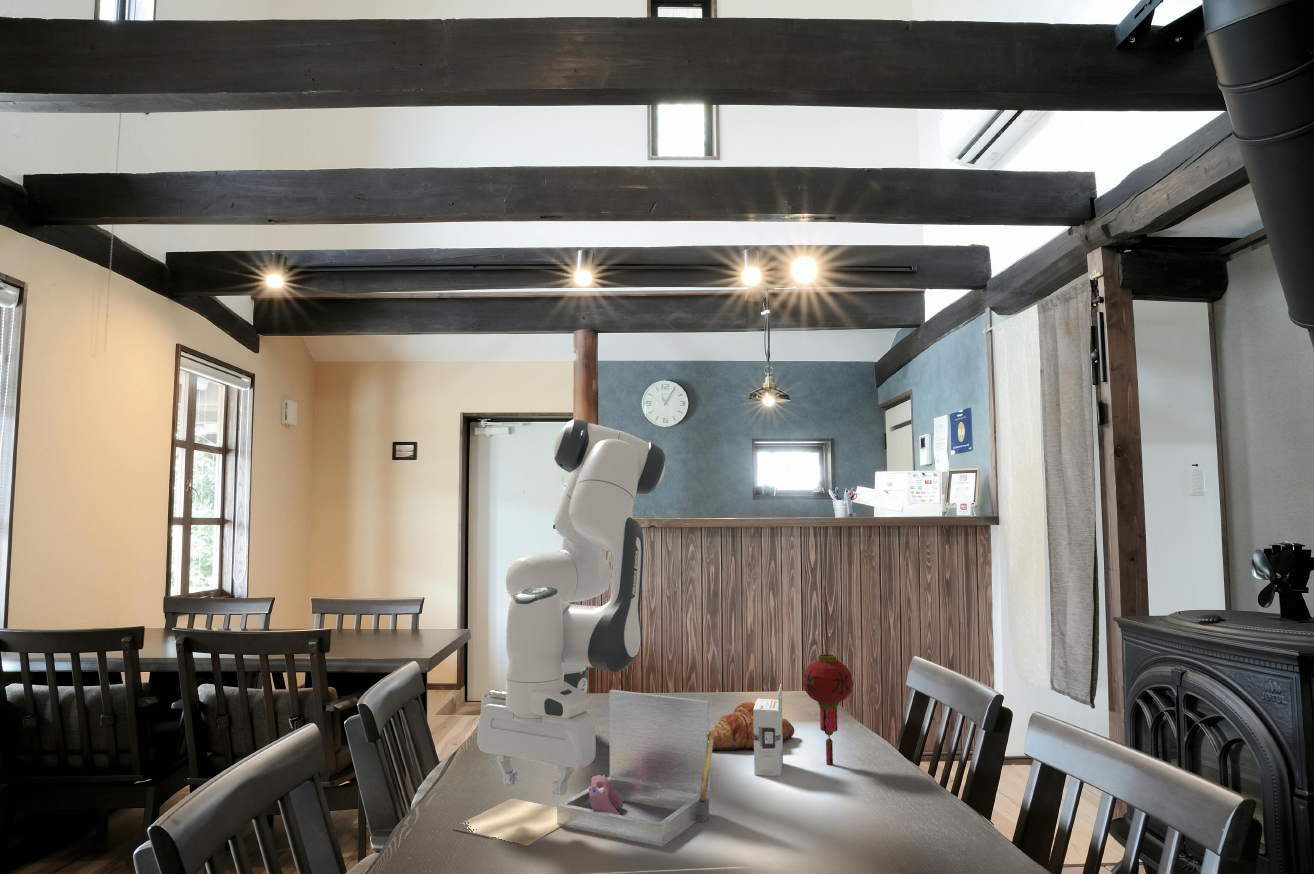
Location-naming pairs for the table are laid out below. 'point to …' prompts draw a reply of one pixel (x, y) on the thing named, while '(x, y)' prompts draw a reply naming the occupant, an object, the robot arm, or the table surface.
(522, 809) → the pad
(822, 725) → the lantern
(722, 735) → the pastry
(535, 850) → the table surface
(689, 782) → the case
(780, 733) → the ink box
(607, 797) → the pink rounded figure
